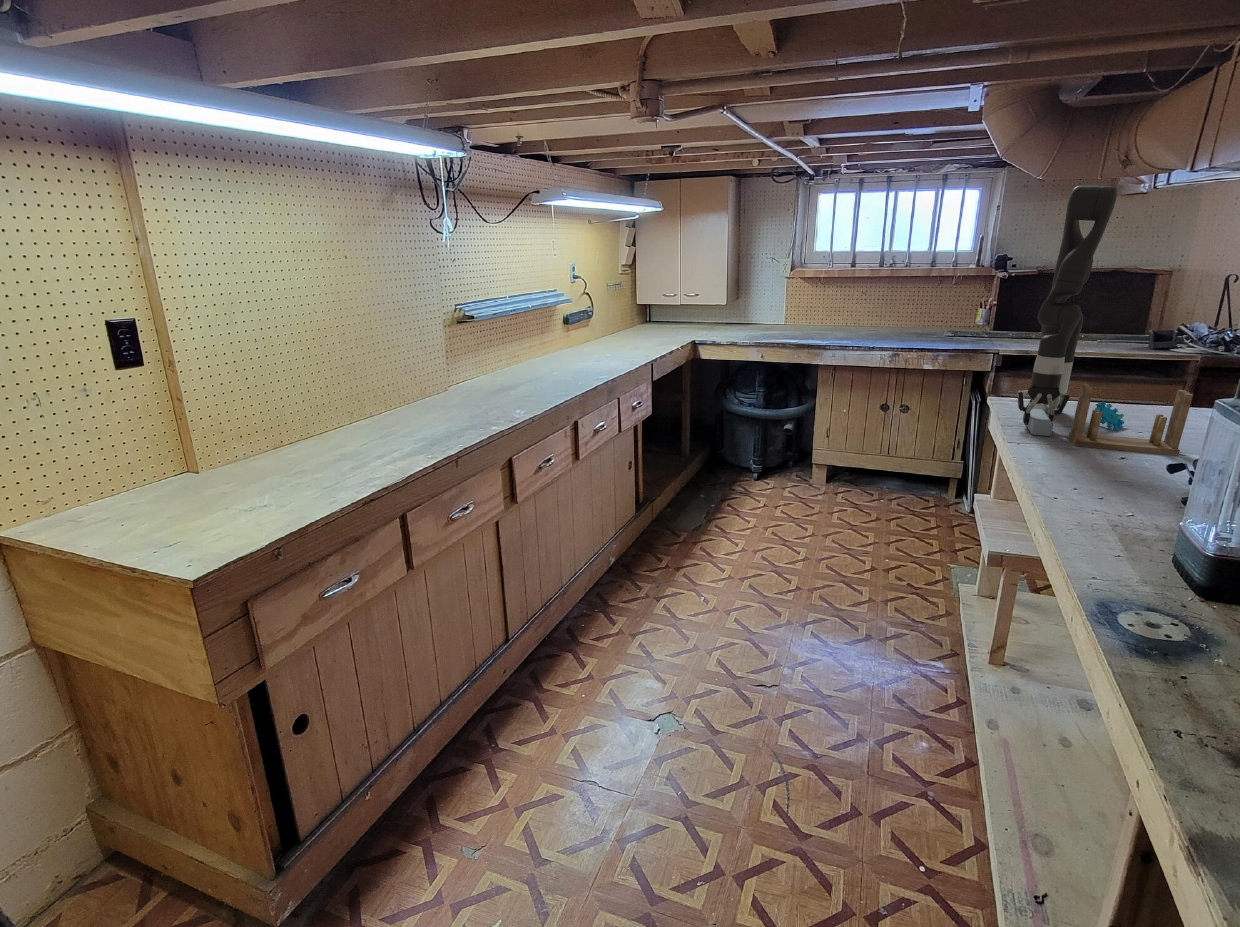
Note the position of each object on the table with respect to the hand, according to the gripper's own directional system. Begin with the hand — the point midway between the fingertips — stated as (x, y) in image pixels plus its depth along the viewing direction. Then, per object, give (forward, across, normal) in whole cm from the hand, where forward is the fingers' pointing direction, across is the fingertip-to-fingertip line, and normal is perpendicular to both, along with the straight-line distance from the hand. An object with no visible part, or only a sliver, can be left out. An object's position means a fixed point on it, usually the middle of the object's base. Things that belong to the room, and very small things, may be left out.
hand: (1036, 424), depth 206 cm
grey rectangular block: (+1, 0, 0) cm, 1 cm away
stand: (+1, -19, +12) cm, 23 cm away
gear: (+2, -21, -9) cm, 23 cm away
